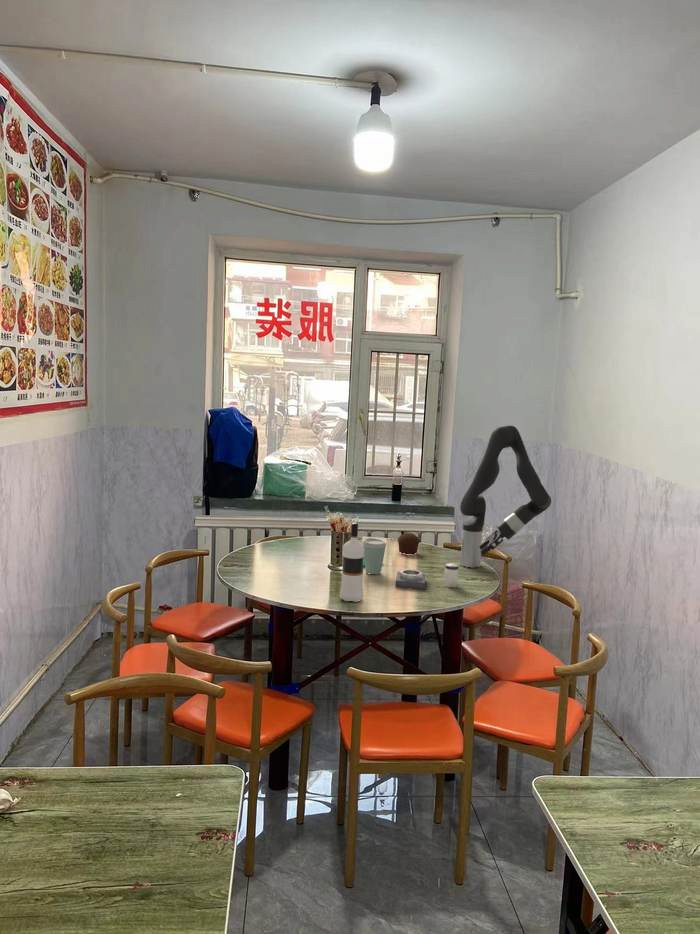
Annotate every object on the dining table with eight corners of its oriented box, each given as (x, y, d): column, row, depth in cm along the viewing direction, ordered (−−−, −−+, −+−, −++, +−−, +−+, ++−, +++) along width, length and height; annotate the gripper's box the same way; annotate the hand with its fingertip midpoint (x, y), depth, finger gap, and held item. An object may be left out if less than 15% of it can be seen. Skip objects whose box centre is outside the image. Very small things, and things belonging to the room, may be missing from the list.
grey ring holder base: (397, 578, 296) (397, 567, 295) (424, 580, 294) (425, 569, 294) (395, 587, 282) (396, 575, 281) (424, 589, 281) (425, 578, 280)
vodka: (334, 598, 264) (337, 522, 260) (350, 593, 271) (354, 519, 267) (351, 604, 258) (355, 526, 254) (368, 599, 264) (372, 523, 261)
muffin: (402, 549, 349) (403, 530, 348) (422, 552, 345) (423, 533, 344) (393, 553, 339) (394, 534, 338) (414, 557, 334) (415, 537, 333)
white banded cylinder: (444, 583, 291) (445, 562, 290) (457, 584, 291) (458, 563, 290) (444, 587, 286) (445, 566, 285) (457, 588, 285) (459, 567, 284)
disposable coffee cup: (389, 572, 304) (390, 539, 302) (377, 578, 295) (379, 544, 293) (368, 568, 309) (369, 536, 307) (356, 573, 300) (358, 540, 298)
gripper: (503, 516, 289) (474, 541, 292) (506, 522, 275) (476, 548, 278) (514, 529, 289) (485, 554, 292) (519, 535, 275) (488, 561, 278)
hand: (481, 551), depth 285 cm, fingers open, 8 cm apart
